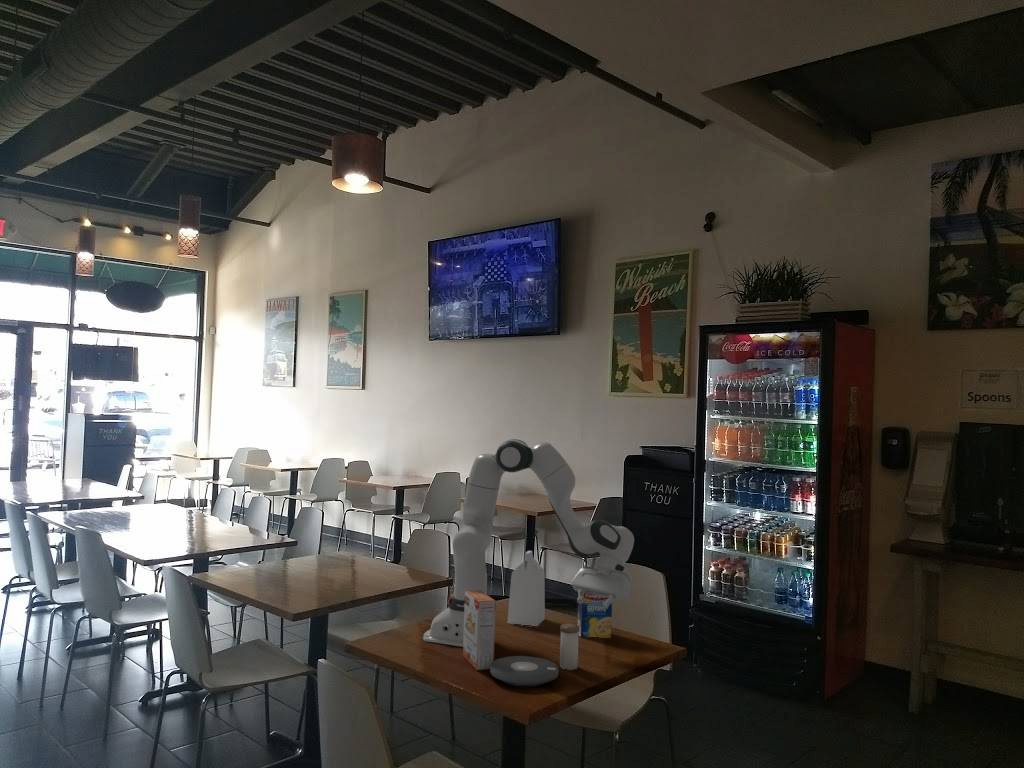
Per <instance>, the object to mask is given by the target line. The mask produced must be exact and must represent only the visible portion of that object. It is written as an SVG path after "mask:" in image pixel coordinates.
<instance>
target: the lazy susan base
mask: <svg viewBox="0 0 1024 768" xmlns="http://www.w3.org/2000/svg"><path fill="white" fill-rule="evenodd" d="M502 682H503V683H504V684H506V685H510V686H513V685H514V686H515V687H519V686H527V687H526V688H529V687H528V686H534V687H539V685H540V686H542V684H543V685H545V684H544V683H540V684H517V683H510V682H506V681H502Z"/></svg>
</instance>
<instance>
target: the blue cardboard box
mask: <svg viewBox="0 0 1024 768" xmlns="http://www.w3.org/2000/svg"><path fill="white" fill-rule="evenodd" d="M582 597H583V599H584V601H583V603H582V604H581V603H578V602H577V605H578V606H577V626H579V637H580V636H581V637H599V639H602V638H603V639H611V638H612V622H613V621H612V617H613V616H612V614H613V603H611V604H610V605H609V606H608V608H607V609H605V608H603V607H602V603H603V601H606V600H607V599H609V598H608V597H603V596H598V595H593V594H588V593H584V595H582ZM581 637H580V638H581Z"/></svg>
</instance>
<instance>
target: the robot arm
mask: <svg viewBox="0 0 1024 768" xmlns="http://www.w3.org/2000/svg"><path fill="white" fill-rule="evenodd" d="M527 469H529V470H531V471H532V472H533V473H535V476H537V478H538V479H539V481H540V483H541V484H542V485H543V487H544V489H545V491H546V493H547V496H548V500H549V504H550V506H551V508H552V510H553V512H554V514H555V515H556V517H557V520H558V521H559V523H560V525H561V526H562V528H563V530H564V532H565V534H566V537H567V540H568V544H569V547H570V548H571V550H572V551H573V553H574V554H576V555H577V556H579V557H581V558H589V557H591V556H592V555H595V554H596V553H597V552H598V553H599V557H598V560H597V562H596V563H595V566H594V567H592V566H587V565H586V566H583V567H580V569H578V571H577V573H576V574H575V576H574V577H573V578H572V581H571V587H572V588H573V590H574V591H575V592H577V593H578V597H577V598H576V602H577V604H578V603H581V604H582V603H583V601H584V599H583V597H582V595H584V593H588V594H593V595H598V596H603V597H608V598H609V599H607V600H606V601H603V603H602V607H603V608H605V609H607V608H608V606H609V605H610V604H611V603H612V604H613V603H615V601H616V600H619V601H625V600H627V599H628V598H629V596H630V592H631V590H632V583H633V582H634V578H633V575H632V574H631V572H630V570H629V569H628V567H627V566H625V565H626V564H625V563H626V562H627V561H628V560H629V558H630V556H631V553H632V551H633V549H634V543H635V536H634V534H633V532H632V531H630V530H631V529H629V528H627V527H625V526H622V525H619V526H618V525H617V526H616V525H614V524H611V523H610V522H608V521H607V520H605V519H596V520H594V521H592V522H588V523H587V524H586V525H584V524H582V523H581V522H580V520H579V518H578V516H577V514H576V513H575V511H574V509H573V507H572V505H571V496H572V493H573V491H574V489H575V486H576V476H575V473H574V471H573V470H572V468H571V466H570V465H569V463H568V462H567V460H565V458H564V457H563V456H562V455H561V453H560V452H559V451H558V450H557V449H556V448H555V447H554V446H553V445H552V444H551V443H550V442H548V441H543V442H538V443H536V444H534V445H532V446H529V445H528V444H527V443H526V442H525V441H523V440H521V439H516V438H515V439H514V438H512V439H507V440H505V441H504V442H502V443H501V444H500V446H498V448H497V449H496V452H495V453H482V454H479V455H477V456H476V457H475V458H474V461H473V463H472V467H471V469H470V471H469V475H468V481H467V484H466V489H465V494H464V495H465V496H464V498H463V513H462V521H461V522H462V523H461V528H460V530H458V531H457V532H456V533H455V535H454V537H453V540H452V550H453V554H452V555H453V566H454V591H453V594H451V595H449V598H448V600H447V606H448V607H446V608H445V609H444V610H443V611H442V612H440V613H438V614H437V615H436V616H435V617H434V618H433V620H432V622H431V624H430V629H428V630H427V631H425V632H424V634H423V636H422V638H423V641H424V642H429V643H434V644H435V643H436V644H442V645H447V646H455V647H462V648H463V636H464V603H465V591H478V590H481V591H482V592H484V593H485V594H487V589H488V587H487V584H488V573H487V566H486V565H487V562H486V561H487V560H486V552H487V550H488V548H489V547H490V545H491V542H492V536H493V529H494V521H495V520H494V519H495V510H496V507H497V501H498V496H499V491H500V485H501V480H502V477H503V475H504V474H505V473H517V472H520V471H524V470H527Z"/></svg>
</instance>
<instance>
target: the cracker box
mask: <svg viewBox="0 0 1024 768" xmlns="http://www.w3.org/2000/svg"><path fill="white" fill-rule="evenodd" d="M496 602H497V601H496V600H495V599H493V598H492V597H490V595H487V593H486V594H485V593H484V592H482V591H481V590H478V591H465V603H464V636H463V647H462V657H463V658H464V659H465V660H466V661H467V662H468V663H469V664H470V665H471V666H472V668H474V669H475V671H487V670H490V665H491V663H492V662H493V661H495V660H494V659H495V634H496V633H495V632H496V631H495V629H496Z"/></svg>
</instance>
